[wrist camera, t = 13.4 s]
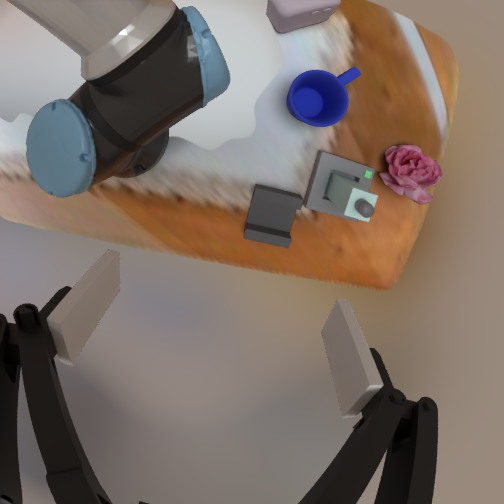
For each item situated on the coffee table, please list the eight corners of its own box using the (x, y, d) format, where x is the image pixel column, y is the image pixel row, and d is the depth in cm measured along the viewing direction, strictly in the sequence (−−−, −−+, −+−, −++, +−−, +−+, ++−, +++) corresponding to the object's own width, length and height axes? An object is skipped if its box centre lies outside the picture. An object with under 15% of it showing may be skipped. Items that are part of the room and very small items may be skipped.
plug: (324, 193, 48) (349, 220, 35) (330, 171, 46) (359, 192, 33) (344, 199, 48) (374, 228, 35) (351, 178, 46) (384, 200, 33)
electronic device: (278, 37, 36) (283, 17, 27) (266, 17, 34) (268, -7, 25) (330, 22, 34) (346, 2, 25) (317, 2, 32) (331, -21, 23)
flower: (371, 147, 47) (403, 123, 37) (409, 166, 49) (442, 148, 39) (370, 201, 45) (407, 183, 35) (410, 217, 47) (447, 204, 37)
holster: (244, 230, 51) (243, 238, 48) (255, 183, 48) (255, 188, 44) (286, 240, 52) (288, 248, 49) (300, 194, 48) (303, 199, 45)
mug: (355, 96, 40) (379, 91, 31) (303, 135, 44) (316, 138, 35) (325, 59, 38) (342, 45, 29) (271, 98, 41) (276, 92, 32)
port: (303, 203, 49) (306, 208, 46) (318, 150, 45) (322, 151, 42) (353, 217, 50) (358, 222, 47) (369, 167, 46) (376, 170, 43)
